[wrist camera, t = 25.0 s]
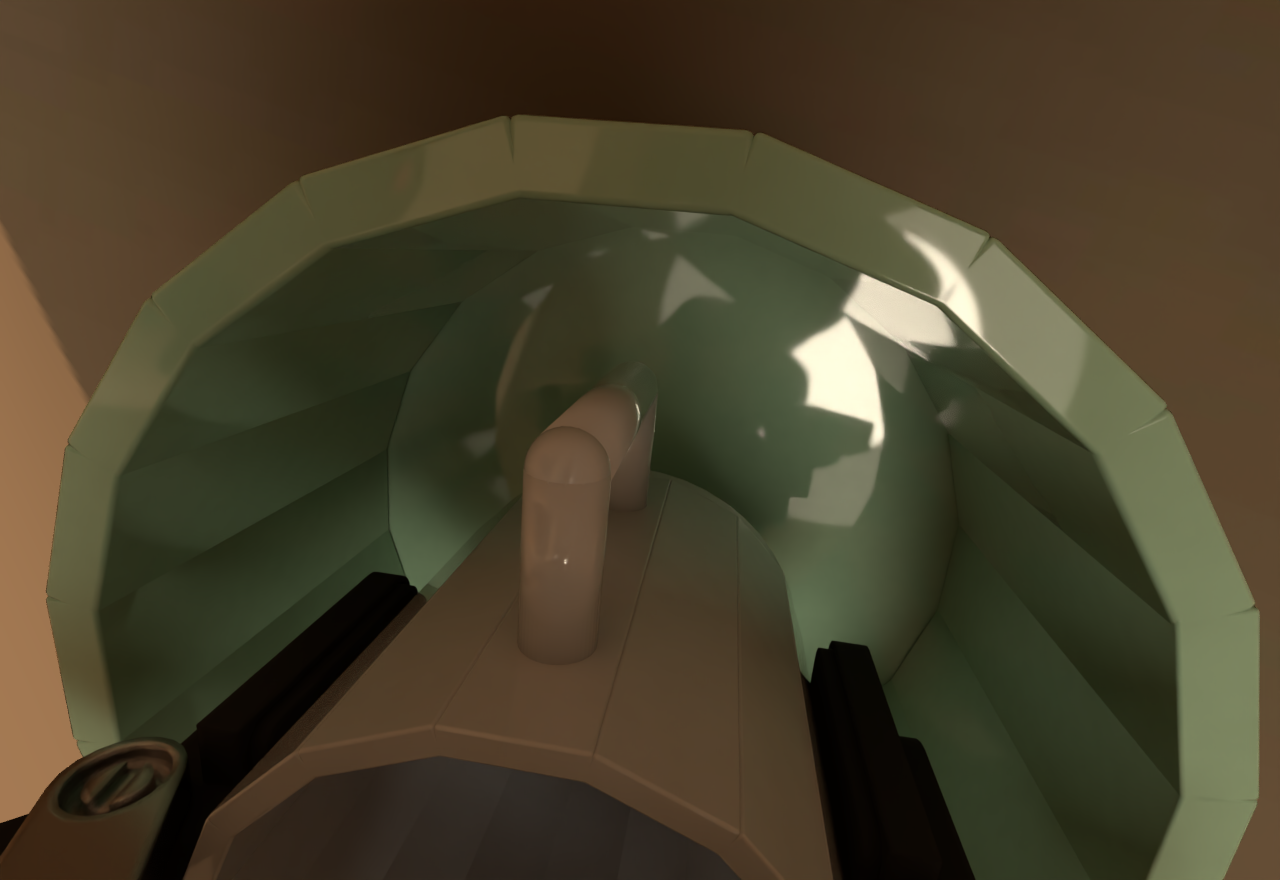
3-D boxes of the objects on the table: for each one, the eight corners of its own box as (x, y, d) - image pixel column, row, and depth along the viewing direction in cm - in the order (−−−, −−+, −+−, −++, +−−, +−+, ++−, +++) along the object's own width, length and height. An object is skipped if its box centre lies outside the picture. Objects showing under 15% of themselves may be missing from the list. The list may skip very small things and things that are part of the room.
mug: (769, 793, 13) (806, 1336, 7) (459, 738, 14) (208, 1176, 7) (845, 366, 11) (1023, 542, 4) (464, 325, 12) (93, 419, 5)
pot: (359, 167, 15) (-63, 73, 7) (1062, 224, 14) (1540, 182, 5) (378, 719, 20) (131, 1042, 12) (909, 815, 18) (1049, 1272, 10)
